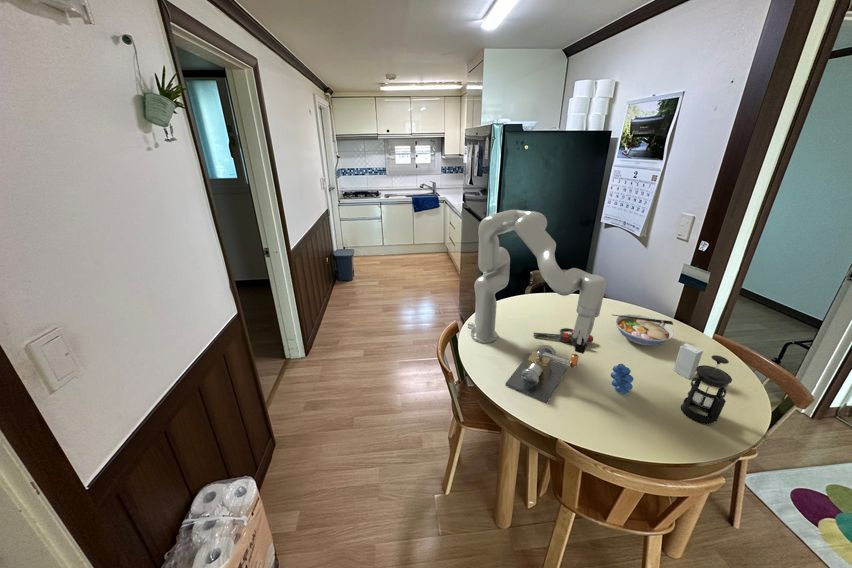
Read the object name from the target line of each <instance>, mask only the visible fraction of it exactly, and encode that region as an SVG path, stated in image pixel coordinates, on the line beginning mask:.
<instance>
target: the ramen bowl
mask: <svg viewBox="0 0 852 568" xmlns="http://www.w3.org/2000/svg"><path fill="white" fill-rule="evenodd" d="M611 316H613V317H616V318H615V325H616V328H617V329H618V331H619V332H620V334H621V335H622V336H623V337H625V338H626V339H627V340H629V341H631V342H632V343H635V344H639V345H642V346H657V345H659V346H660V345H661V344H665V342H667V341H669V340H670V339H671V338H673V337H674V330H673V329H672V328H671V327H670V326H671V325H672V326H674V323H673V320H665V319H657V318H653V317H650V316H647V315H646V316H645V315H641V314H635V313H634V314H631V313H628V314H627V313H626V314H622V315H621V314H619V315H618V314H611ZM669 325H670V326H669Z"/></svg>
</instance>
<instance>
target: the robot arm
mask: <svg viewBox="0 0 852 568" xmlns="http://www.w3.org/2000/svg"><path fill="white" fill-rule="evenodd" d="M547 227H548V220H547V218H546V216H545V215H544V214H543V213H541V212H538V211H533V210H532V211H531V210H521V209H509V210H504V211H501V212H496V213H493V214H491V215H488V216H486V217H484V218H483V219H482V220H481V221H480V222H479V225H478V230H477V231H478V232H477V233H478V260H477V261H478V266H477V267H478V269H479V270H480V272H482V273H483V275H481V276H479V277H478V278H477V279H476V280H475V281H474V295H475V305H474V306H475V311H474V312H475V313H474V323H473V322H470V321H469V322H468V323H467V329H470V330H471V333H470V337H471V339H472V340H474V341H476V342H477V343H481V344H489V343H490V344H491V343H493V342H495V341H497V339H498V333H497V331H496V318H497V317H496V316H497V304H498V303H497V299H496V293H498V292H499V291H502V290H503V289H505V288H506V287H507V286H508V284H509V280H510V268H511V267H510V265H511V256H510V253H509V251H508V250H507V249H506V248H505V247H503V246H500V240H499V237H498V235H499V236H500V235H502V234H503V235H504V234H505V233H509V232H512V231H515V232H516V234H517V235H518V237H519V238H520V239H521V240H522V241H523V243H524V244H525V245H526V246H527V248H528V249H529V250H530V251H531V253H532V254H533V255H534V256H535V258H536V261H537V265H538V269H539V272H540V275H541V277H542V278H543V280H544V281H545V282H546V283H547V285H548V286H549V288H551V290H553V292H555V293H556V294H558V295H560V296H563V297H566V296H570V295H571V294H573V293H575V292H576V291H579V295H578V301H577V305H576V313H577V317H576V320H575V324H574V328H573V330H574V332H573V336H572V337H573V338H576V337H577V336H578V337H577V342H576V347H574V352H576V353H579V354H581V355H583V354H585V353H586V348H587V347H586V346H587V345H586V341H587V339H588V337H589V335H591V333H592V331H593V329H594V324H595V320H596V318H598V317H600V315H601V308H602V303H603V301H604V295H605V290H606V287H607V281H606V279H605V277H603V276H601V275H598V274H591V273H590V272H586V271H585V270H583V269H580V268H577V267H571V268H570V269H568V270H566V271H563V269H561V268H560V266H559V264H558V263H557V260H556V257H555V256H556V255H555V254H556V253H555V252H556V249H557V243H556V241H555V240H554V238H553V237H552V236H551V235H550V234H549V233H548V232H547V230H546V228H547Z"/></svg>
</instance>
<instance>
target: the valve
mask: <svg viewBox="0 0 852 568" xmlns="http://www.w3.org/2000/svg"><path fill="white" fill-rule="evenodd" d="M563 331H570V332H571V333H568V332H563ZM573 332H574V328H573V329H572V328H568V327H564V328H561V329H560V330H559V334H558V333H557V334H556V333H549V332H548V333H545V332H533V337H536V338H548V339H559V340H560V341H561V342H564V343H565V342H567V343H568V342H571V345H572V347H574V348H575V347H576V342H577V337H578V336H577V337H576V338H573V337H572V336H573ZM593 341H594V336H593V335H591V334H590V335H589V337H588V339H587V341H586V346H587V345H588V343H589V344H590V343H592V342H593Z"/></svg>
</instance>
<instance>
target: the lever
mask: <svg viewBox="0 0 852 568" xmlns="http://www.w3.org/2000/svg"><path fill="white" fill-rule="evenodd" d="M536 352H537V354H536V355H537V357H540V358H543V357H546V358H548V359H551V361H554V362H556V363H559V364H562V365H565V366H567V367H570V368H573V369H576V368H577V366H578V362H579V361H578V360H579V357H580V356H579V354H577V353H572V354H571V356H570V360H568V359H566V358H562V357H560V356H557V355H556V356H555V355H552V354H549V353H546V352H544V351H543V350H539V349H538V350H536Z"/></svg>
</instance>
